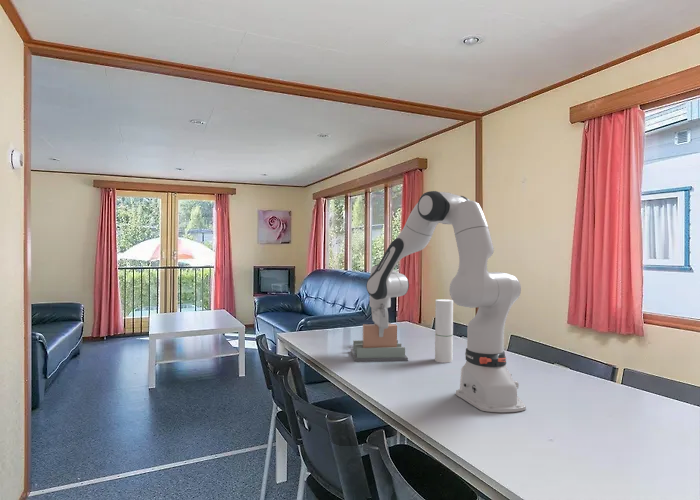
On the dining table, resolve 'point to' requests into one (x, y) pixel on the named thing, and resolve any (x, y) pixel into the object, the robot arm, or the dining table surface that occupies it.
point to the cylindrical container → (444, 331)
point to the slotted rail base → (377, 353)
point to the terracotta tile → (373, 339)
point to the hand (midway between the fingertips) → (379, 335)
